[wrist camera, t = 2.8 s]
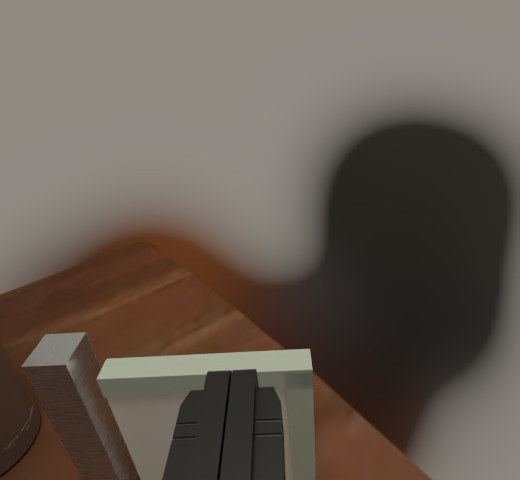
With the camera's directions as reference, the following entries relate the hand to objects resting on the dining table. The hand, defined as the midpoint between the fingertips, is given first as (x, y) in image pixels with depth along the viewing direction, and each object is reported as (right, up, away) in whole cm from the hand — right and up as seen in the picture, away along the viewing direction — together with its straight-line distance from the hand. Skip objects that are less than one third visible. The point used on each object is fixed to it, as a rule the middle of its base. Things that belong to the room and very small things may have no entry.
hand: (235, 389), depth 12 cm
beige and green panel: (-1, -14, +17) cm, 22 cm away
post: (-10, -16, +18) cm, 26 cm away
